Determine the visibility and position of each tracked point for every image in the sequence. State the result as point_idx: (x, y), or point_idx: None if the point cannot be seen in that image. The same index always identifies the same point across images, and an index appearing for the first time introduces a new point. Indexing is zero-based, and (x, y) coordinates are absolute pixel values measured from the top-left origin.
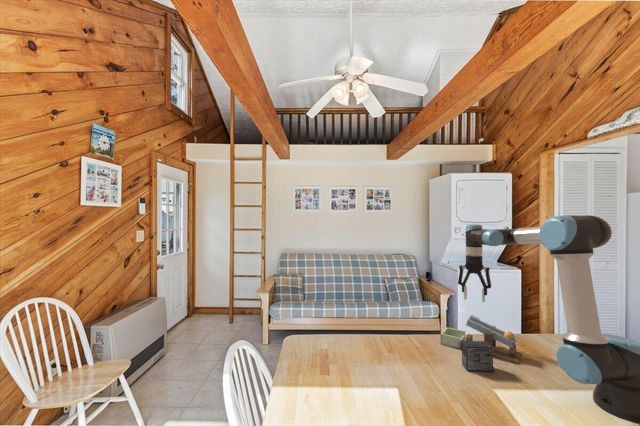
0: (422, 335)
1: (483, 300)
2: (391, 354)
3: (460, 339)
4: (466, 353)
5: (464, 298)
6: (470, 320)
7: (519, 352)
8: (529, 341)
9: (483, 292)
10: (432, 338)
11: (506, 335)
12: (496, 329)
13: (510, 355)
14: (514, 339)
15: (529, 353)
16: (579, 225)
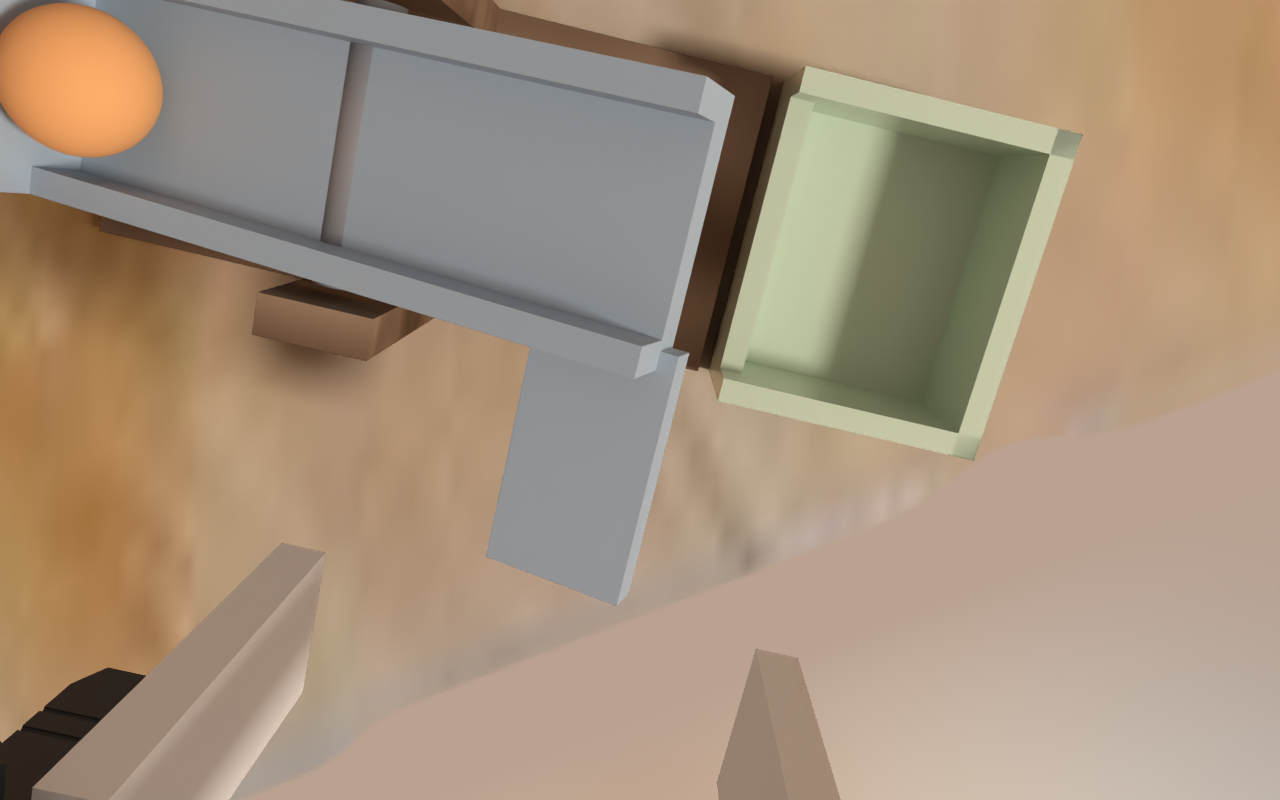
0: (1242, 357)
1: (272, 570)
2: None
3: (785, 179)
4: None
5: (792, 668)
6: (655, 100)
7: (110, 226)
8: (11, 657)
9: (135, 699)
10: (1114, 305)
11: (106, 23)
12: (247, 228)
13: None
14: None
15: (21, 296)
16: None
